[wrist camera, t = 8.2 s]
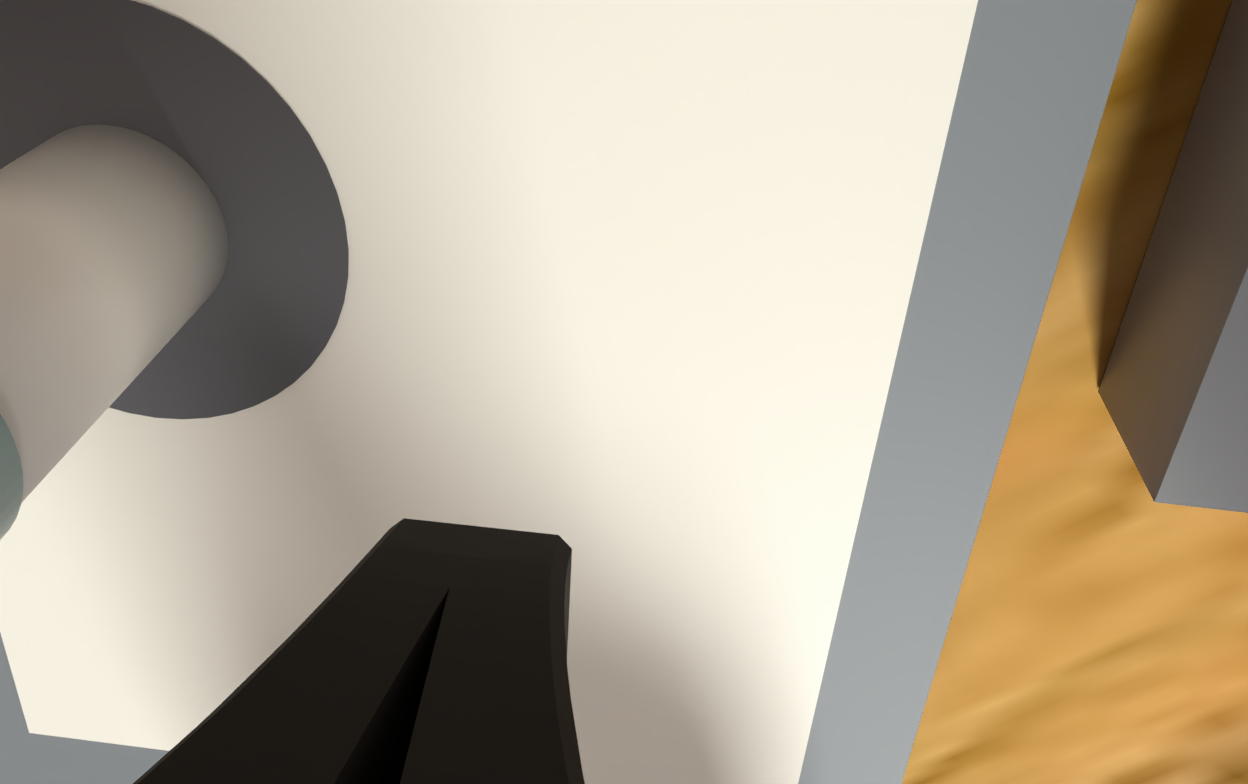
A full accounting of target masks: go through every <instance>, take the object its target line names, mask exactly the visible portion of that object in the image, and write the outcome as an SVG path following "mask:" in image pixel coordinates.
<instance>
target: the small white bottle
mask: <svg viewBox="0 0 1248 784" xmlns="http://www.w3.org/2000/svg"><path fill="white" fill-rule="evenodd" d="M227 260H228V235H227V230H226V225H225V221H224V218H223V215H222V212H221V209H220V207H219V205H218V203H217V201H216V199H215V197H214V195H213V194H212V192H211V191H210V189H209V187H208V186H207V184H206V183H205V182H204V180H203V179H202V178H201V177H200V175H199V174H198V173H197V172H196V171H195V170H194V169H193V168H192V167H191V166H190V165H189V163H188V162H186V161H185V160H184V159H183V158H182V157H181V156H179V155H178V154H177V153H176V152H174V151H173V150H171V149H170V148H169V147H167V146H166V145H164V144H163V143H161V142H159V141H157V140H155V139H153V138H151V137H150V136H147V135H145V134H142V133H140V132H137V131H135V130H131V129H127V128H124V127H119V126H113V125H99V124H92V125H84V126H78V127H75V128H71V129H68V130H65V131H63V132H61V133H59V134H57V135H55V136H53V137H52V138H50V139H49V140H47V141H45V142H44V143H42V144H41V145H39V146H37V147H36V148H34V149H32V150H31V151H29V152H28V153H26V154H24V155H23V156H21V157H19V158H18V159H16V160H15V161H13V162H11V163H10V164H8V165H7V166H5V167H3V168H2V169H0V540H1V539H2V537H3V536H4V535H5V534H6V533H7V532H8V531H9V530H10V528H11V526H12V525H13V523H14V521H15V519H16V518H17V515H18V512H19V509H20V506H21V503H22V502H23V501H24V500H25V499H26V497H27V496H28V495H29V494H30V493H31V492H32V491H33V490H34V489H35V488H36V487H37V485H38V484H39V483H40V482H41V481H42V480H43V479H44V478H45V477H46V476H47V474H48V473H49V472H50V471H51V470H52V469H53V468H54V467H55V466H56V465H57V463H58V462H59V461H60V460H61V459H62V458H63V457H64V456H65V455H66V454H67V453H68V451H69V450H70V449H71V448H72V447H73V446H74V445H75V444H76V443H77V442H78V440H79V439H80V438H81V437H82V436H83V435H84V434H85V433H86V432H87V431H88V430H89V428H90V427H91V426H92V425H93V424H94V423H95V422H96V421H97V420H98V419H99V417H100V416H101V415H102V414H103V413H104V412H105V411H106V410H107V409H108V408H109V407H110V405H111V404H112V403H113V402H114V401H115V400H116V399H117V398H118V397H119V396H120V394H121V393H122V392H123V391H124V390H125V389H126V388H127V387H128V386H129V385H130V384H131V382H132V381H133V380H134V379H135V378H136V377H137V376H138V375H139V374H140V373H141V371H142V370H143V369H144V368H145V367H146V366H147V365H148V364H149V363H150V362H151V360H152V359H153V358H154V357H155V356H156V355H157V354H158V353H159V352H160V351H161V350H162V348H163V347H164V346H165V345H166V344H167V343H168V342H169V341H170V340H171V339H172V337H173V336H174V335H175V334H176V333H177V332H178V331H179V330H180V329H181V328H182V327H183V325H184V324H185V323H186V322H187V321H188V320H189V319H190V318H191V317H192V316H193V314H194V313H195V312H196V311H197V310H198V309H199V308H200V307H201V306H202V305H203V304H204V302H205V301H206V300H207V299H208V298H209V297H210V296H211V295H212V293H213V292H214V291H215V290H216V288H217V287H218V285H219V283H220V282H221V279H222V277H223V275H224V272H225V269H226V264H227Z"/></svg>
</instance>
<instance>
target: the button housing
mask: <svg viewBox="0 0 1248 784" xmlns="http://www.w3.org/2000/svg"><path fill="white" fill-rule="evenodd" d="M1098 392H1099V394H1100V396H1101V398H1102V400H1103V402H1104V404H1105V406H1106V408H1107V410H1108V412H1109V414H1110V416H1111V417H1112V419H1113V421H1114V423H1115V425H1116V427H1117V429H1118V431H1119V433H1120V435H1121V437H1122V439H1123V441H1124V443H1125V445H1126V447H1127V449H1128V451H1129V453H1130V455H1131V457H1132V459H1133V461H1134V463H1135V465H1136V467H1137V469H1138V471H1139V473H1140V475H1141V477H1142V479H1143V481H1144V483H1145V484H1146V486H1147V488H1148V490H1149V492H1150V494H1151V496H1152V498H1153V500H1154V502H1159V503H1168V504H1176V505H1185V506H1194V507H1203V508H1211V509H1220V510H1229V511H1237V512H1246V513H1248V0H1232V3H1231V6H1230V9H1229V12H1228V15H1227V18H1226V20H1225V23H1224V26H1223V29H1222V32H1221V35H1220V38H1219V41H1218V44H1217V47H1216V50H1215V53H1214V55H1213V58H1212V61H1211V64H1210V67H1209V70H1208V73H1207V76H1206V79H1205V82H1204V85H1203V87H1202V90H1201V93H1200V96H1199V99H1198V102H1197V105H1196V108H1195V111H1194V114H1193V117H1192V119H1191V122H1190V125H1189V128H1188V131H1187V134H1186V137H1185V140H1184V143H1183V146H1182V149H1181V152H1180V154H1179V157H1178V160H1177V163H1176V166H1175V169H1174V172H1173V175H1172V178H1171V181H1170V184H1169V186H1168V189H1167V192H1166V195H1165V198H1164V201H1163V204H1162V207H1161V210H1160V213H1159V216H1158V219H1157V221H1156V224H1155V227H1154V230H1153V233H1152V236H1151V239H1150V242H1149V245H1148V248H1147V251H1146V253H1145V256H1144V259H1143V262H1142V265H1141V268H1140V271H1139V274H1138V277H1137V280H1136V283H1135V285H1134V288H1133V291H1132V294H1131V297H1130V300H1129V303H1128V306H1127V309H1126V312H1125V315H1124V318H1123V320H1122V323H1121V326H1120V329H1119V332H1118V335H1117V338H1116V341H1115V344H1114V347H1113V350H1112V352H1111V355H1110V358H1109V361H1108V364H1107V367H1106V370H1105V373H1104V376H1103V379H1102V382H1101V385H1100V387H1099V390H1098Z"/></svg>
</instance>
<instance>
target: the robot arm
mask: <svg viewBox="0 0 1248 784" xmlns="http://www.w3.org/2000/svg"><path fill="white" fill-rule="evenodd" d="M571 559H572V548H571V547H570V546H569V545H568V544H567V543H566V542H565V541H564V540H563V539H562V538H561V537H560V536H559V535H555V534H545V533H536V532H527V531H518V530H508V529H499V528H490V527H480V526H471V525H462V524H452V523H443V522H434V521H424V520H415V519H406V518H403V519H402V520H401V521H399V522H398V523H397V524H395V525H394V526H393V527H391V528H390V529H389V530H388V531H387V532H386V533H385V534H384V536H383V537H382V538H381V539H380V540H379V541H378V542H377V543H376V544H375V546H374V547H373V548H372V549H371V550H370V551H369V552H368V553H367V554H366V555H365V557H364V558H363V559H362V560H361V561H360V562H359V563H358V564H357V565H356V566H355V568H354V569H353V570H352V571H351V572H350V573H349V574H348V575H347V576H346V577H345V578H344V580H343V581H342V582H341V583H340V584H339V585H338V586H337V587H336V588H335V589H334V590H333V591H332V592H331V593H330V595H329V596H328V597H327V598H326V599H325V600H324V601H323V602H322V603H321V604H320V605H319V606H318V607H317V608H316V609H315V610H314V611H313V612H312V613H311V614H310V615H309V616H308V618H307V619H306V620H305V621H304V622H303V623H302V624H301V625H300V626H299V627H298V628H297V629H296V630H295V631H294V632H293V633H292V634H291V635H290V636H289V637H288V638H287V639H286V640H285V641H284V642H283V643H282V644H281V645H280V646H279V647H278V648H277V649H276V650H275V651H274V652H273V653H272V654H271V655H270V656H269V657H268V658H267V659H266V660H265V661H264V662H263V663H262V664H261V665H260V666H259V667H258V668H257V669H256V670H255V671H254V672H253V673H252V674H251V675H250V676H249V677H248V678H247V679H246V680H245V681H244V682H243V683H242V684H241V685H240V686H239V687H237V688H236V689H235V690H234V691H233V692H232V693H231V694H230V695H229V696H228V697H227V698H226V699H225V700H224V701H223V702H222V703H221V704H220V705H219V706H218V707H217V708H216V709H215V710H214V711H213V712H212V713H211V714H210V715H209V716H208V717H206V718H205V719H204V720H203V721H202V722H201V723H200V724H199V725H198V726H197V727H196V728H195V729H193V730H192V731H191V732H190V733H189V734H188V735H187V736H186V737H184V738H183V739H182V740H181V741H180V742H179V743H178V744H177V745H176V746H174V747H173V748H172V749H171V750H170V751H169V752H168V753H167V754H165V755H164V756H163V757H162V758H161V759H160V760H159V761H158V762H156V763H155V764H154V765H153V766H152V767H151V768H150V769H149V770H148V771H146V772H145V773H144V774H143V775H142V776H141V777H140V778H139V779H137V780H136V781H135V782H134V783H133V784H585V782H584V777H583V772H582V766H581V759H580V753H579V747H578V741H577V734H576V728H575V722H574V715H573V709H572V703H571V696H570V687H569V678H568V669H567V647H568V625H569V603H570V581H571Z"/></svg>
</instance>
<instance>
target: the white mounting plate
mask: <svg viewBox="0 0 1248 784" xmlns="http://www.w3.org/2000/svg"><path fill="white" fill-rule="evenodd" d="M1136 2H1137V0H0V169H2V168H3V167H5V166H7V165H8V164H10V163H11V162H13V161H15V160H16V159H18V158H19V157H21V156H23V155H24V154H26V153H28V152H29V151H31V150H32V149H34V148H36V147H37V146H39V145H41V144H42V143H44V142H45V141H47V140H49V139H50V138H52V137H53V136H55V135H57V134H59V133H61V132H63V131H65V130H68V129H71V128H75V127H78V126H84V125H92V124H99V125H113V126H119V127H124V128H127V129H131V130H135V131H137V132H140V133H142V134H145V135H147V136H150V137H151V138H153V139H155V140H157V141H159V142H161V143H163V144H164V145H166V146H167V147H169V148H170V149H171V150H173V151H174V152H176V153H177V154H178V155H179V156H181V157H182V158H183V159H184V160H185V161H186V162H188V163H189V165H190V166H191V167H192V168H193V169H194V170H195V171H196V172H197V173H198V174H199V175H200V177H201V178H202V179H203V180H204V182H205V183H206V184H207V186H208V187H209V189H210V191H211V192H212V194H213V195H214V197H215V199H216V201H217V203H218V205H219V207H220V209H221V212H222V215H223V218H224V221H225V225H226V230H227V235H228V260H227V264H226V269H225V272H224V275H223V277H222V279H221V282H220V283H219V285H218V287H217V288H216V290H215V291H214V292H213V293H212V295H211V296H210V297H209V298H208V299H207V300H206V301H205V302H204V304H203V305H202V306H201V307H200V308H199V309H198V310H197V311H196V312H195V313H194V314H193V316H192V317H191V318H190V319H189V320H188V321H187V322H186V323H185V324H184V325H183V327H182V328H181V329H180V330H179V331H178V332H177V333H176V334H175V335H174V336H173V337H172V339H171V340H170V341H169V342H168V343H167V344H166V345H165V346H164V347H163V348H162V350H161V351H160V352H159V353H158V354H157V355H156V356H155V357H154V358H153V359H152V360H151V362H150V363H149V364H148V365H147V366H146V367H145V368H144V369H143V370H142V371H141V373H140V374H139V375H138V376H137V377H136V378H135V379H134V380H133V381H132V382H131V384H130V385H129V386H128V387H127V388H126V389H125V390H124V391H123V392H122V393H121V394H120V396H119V397H118V398H117V399H116V400H115V401H114V402H113V403H112V404H111V405H110V407H109V408H108V409H107V410H106V411H105V412H104V413H103V414H102V415H101V416H100V417H99V419H98V420H97V421H96V422H95V423H94V424H93V425H92V426H91V427H90V428H89V430H88V431H87V432H86V433H85V434H84V435H83V436H82V437H81V438H80V439H79V440H78V442H77V443H76V444H75V445H74V446H73V447H72V448H71V449H70V450H69V451H68V453H67V454H66V455H65V456H64V457H63V458H62V459H61V460H60V461H59V462H58V463H57V465H56V466H55V467H54V468H53V469H52V470H51V471H50V472H49V473H48V474H47V476H46V477H45V478H44V479H43V480H42V481H41V482H40V483H39V484H38V485H37V487H36V488H35V489H34V490H33V491H32V492H31V493H30V494H29V495H28V496H27V497H26V499H25V500H24V501H23V502H22V503H21V506H20V509H19V512H18V515H17V518H16V519H15V521H14V523H13V525H12V526H11V528H10V530H9V531H8V532H7V533H6V534H5V535H4V536H3V537H2V539H1V540H0V784H133V783H134V782H135V781H136V780H137V779H139V778H140V777H141V776H142V775H143V774H144V773H145V772H146V771H148V770H149V769H150V768H151V767H152V766H153V765H154V764H155V763H156V762H158V761H159V760H160V759H161V758H162V757H163V756H164V755H165V754H167V753H168V752H169V751H170V750H171V749H172V748H173V747H174V746H176V745H177V744H178V743H179V742H180V741H181V740H182V739H183V738H184V737H186V736H187V735H188V734H189V733H190V732H191V731H192V730H193V729H195V728H196V727H197V726H198V725H199V724H200V723H201V722H202V721H203V720H204V719H205V718H206V717H208V716H209V715H210V714H211V713H212V712H213V711H214V710H215V709H216V708H217V707H218V706H219V705H220V704H221V703H222V702H223V701H224V700H225V699H226V698H227V697H228V696H229V695H230V694H231V693H232V692H233V691H234V690H235V689H236V688H237V687H239V686H240V685H241V684H242V683H243V682H244V681H245V680H246V679H247V678H248V677H249V676H250V675H251V674H252V673H253V672H254V671H255V670H256V669H257V668H258V667H259V666H260V665H261V664H262V663H263V662H264V661H265V660H266V659H267V658H268V657H269V656H270V655H271V654H272V653H273V652H274V651H275V650H276V649H277V648H278V647H279V646H280V645H281V644H282V643H283V642H284V641H285V640H286V639H287V638H288V637H289V636H290V635H291V634H292V633H293V632H294V631H295V630H296V629H297V628H298V627H299V626H300V625H301V624H302V623H303V622H304V621H305V620H306V619H307V618H308V616H309V615H310V614H311V613H312V612H313V611H314V610H315V609H316V608H317V607H318V606H319V605H320V604H321V603H322V602H323V601H324V600H325V599H326V598H327V597H328V596H329V595H330V593H331V592H332V591H333V590H334V589H335V588H336V587H337V586H338V585H339V584H340V583H341V582H342V581H343V580H344V578H345V577H346V576H347V575H348V574H349V573H350V572H351V571H352V570H353V569H354V568H355V566H356V565H357V564H358V563H359V562H360V561H361V560H362V559H363V558H364V557H365V555H366V554H367V553H368V552H369V551H370V550H371V549H372V548H373V547H374V546H375V544H376V543H377V542H378V541H379V540H380V539H381V538H382V537H383V536H384V534H385V533H386V532H387V531H388V530H389V529H390V528H391V527H393V526H394V525H395V524H397V523H398V522H399V521H401V520H402V519H403V518H406V519H415V520H424V521H434V522H443V523H452V524H462V525H471V526H480V527H490V528H499V529H508V530H518V531H527V532H536V533H545V534H555V535H559V536H560V537H561V538H562V539H563V540H564V541H565V542H566V543H567V544H568V545H569V546H570V547H571V548H572V559H571V581H570V603H569V625H568V647H567V669H568V678H569V687H570V696H571V703H572V709H573V715H574V722H575V728H576V734H577V741H578V747H579V753H580V759H581V766H582V772H583V777H584V782H585V784H901V783H902V780H903V777H904V773H905V770H906V767H907V763H908V760H909V757H910V753H911V750H912V747H913V743H914V740H915V737H916V733H917V730H918V727H919V723H920V720H921V717H922V713H923V710H924V707H925V703H926V700H927V697H928V693H929V690H930V687H931V684H932V680H933V677H934V674H935V670H936V667H937V664H938V660H939V657H940V654H941V650H942V647H943V644H944V640H945V637H946V634H947V630H948V627H949V624H950V620H951V617H952V614H953V610H954V607H955V604H956V600H957V597H958V594H959V590H960V587H961V584H962V580H963V577H964V574H965V570H966V567H967V564H968V560H969V557H970V554H971V551H972V547H973V544H974V541H975V537H976V534H977V531H978V527H979V524H980V521H981V517H982V514H983V511H984V507H985V504H986V501H987V497H988V494H989V491H990V487H991V484H992V481H993V477H994V474H995V471H996V467H997V464H998V461H999V457H1000V454H1001V451H1002V447H1003V444H1004V441H1005V437H1006V434H1007V431H1008V427H1009V424H1010V421H1011V418H1012V414H1013V411H1014V408H1015V404H1016V401H1017V398H1018V394H1019V391H1020V388H1021V384H1022V381H1023V378H1024V374H1025V371H1026V368H1027V364H1028V361H1029V358H1030V354H1031V351H1032V348H1033V344H1034V341H1035V338H1036V334H1037V331H1038V328H1039V324H1040V321H1041V318H1042V314H1043V311H1044V308H1045V304H1046V301H1047V298H1048V294H1049V291H1050V288H1051V285H1052V281H1053V278H1054V275H1055V271H1056V268H1057V265H1058V261H1059V258H1060V255H1061V251H1062V248H1063V245H1064V241H1065V238H1066V235H1067V231H1068V228H1069V225H1070V221H1071V218H1072V215H1073V211H1074V208H1075V205H1076V201H1077V198H1078V195H1079V191H1080V188H1081V185H1082V181H1083V178H1084V175H1085V171H1086V168H1087V165H1088V161H1089V158H1090V155H1091V152H1092V148H1093V145H1094V142H1095V138H1096V135H1097V132H1098V128H1099V125H1100V122H1101V118H1102V115H1103V112H1104V108H1105V105H1106V102H1107V98H1108V95H1109V92H1110V88H1111V85H1112V82H1113V78H1114V75H1115V72H1116V68H1117V65H1118V62H1119V58H1120V55H1121V52H1122V48H1123V45H1124V42H1125V38H1126V35H1127V32H1128V28H1129V25H1130V22H1131V19H1132V15H1133V12H1134V9H1135V5H1136Z"/></svg>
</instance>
